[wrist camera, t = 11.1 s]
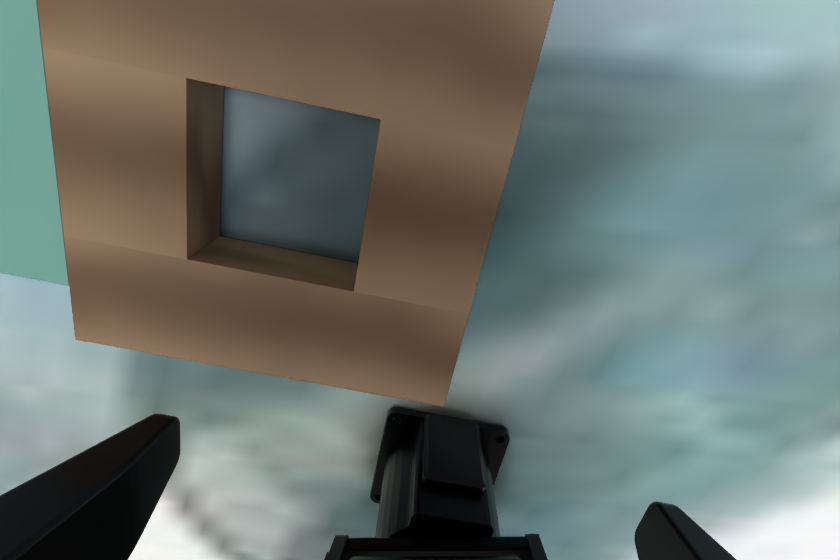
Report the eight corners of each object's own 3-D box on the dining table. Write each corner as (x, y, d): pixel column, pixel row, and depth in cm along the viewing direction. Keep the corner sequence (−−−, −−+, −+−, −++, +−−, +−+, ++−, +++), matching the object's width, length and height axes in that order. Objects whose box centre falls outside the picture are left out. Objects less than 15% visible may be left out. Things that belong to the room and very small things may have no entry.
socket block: (442, 368, 23) (443, 406, 20) (120, 308, 22) (75, 339, 19) (536, 7, 17) (556, -8, 14) (93, -94, 16) (22, -131, 13)
